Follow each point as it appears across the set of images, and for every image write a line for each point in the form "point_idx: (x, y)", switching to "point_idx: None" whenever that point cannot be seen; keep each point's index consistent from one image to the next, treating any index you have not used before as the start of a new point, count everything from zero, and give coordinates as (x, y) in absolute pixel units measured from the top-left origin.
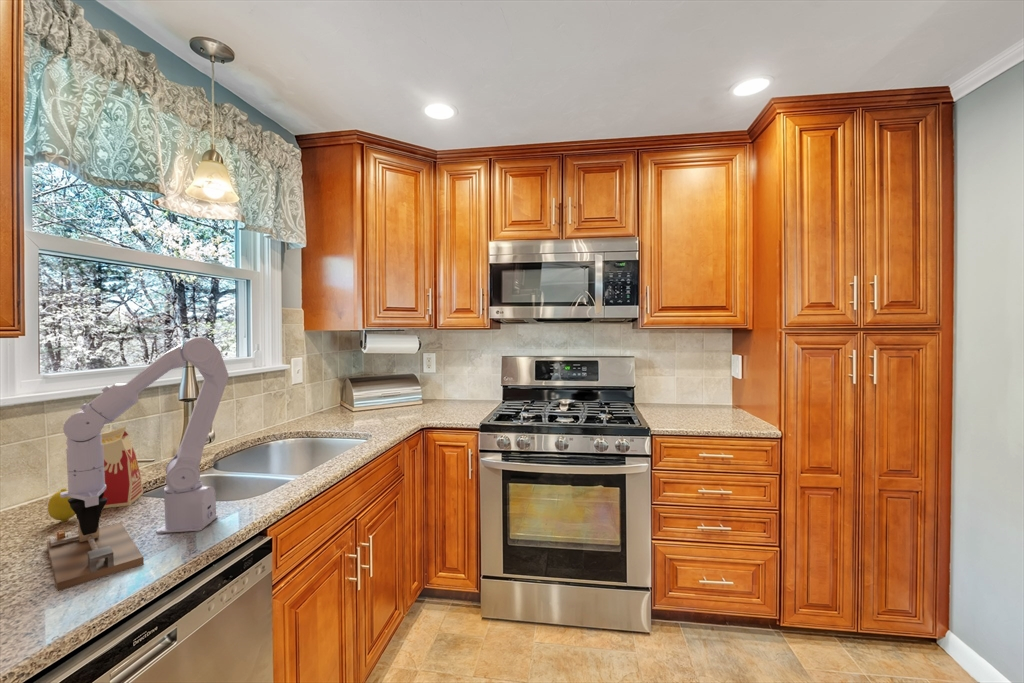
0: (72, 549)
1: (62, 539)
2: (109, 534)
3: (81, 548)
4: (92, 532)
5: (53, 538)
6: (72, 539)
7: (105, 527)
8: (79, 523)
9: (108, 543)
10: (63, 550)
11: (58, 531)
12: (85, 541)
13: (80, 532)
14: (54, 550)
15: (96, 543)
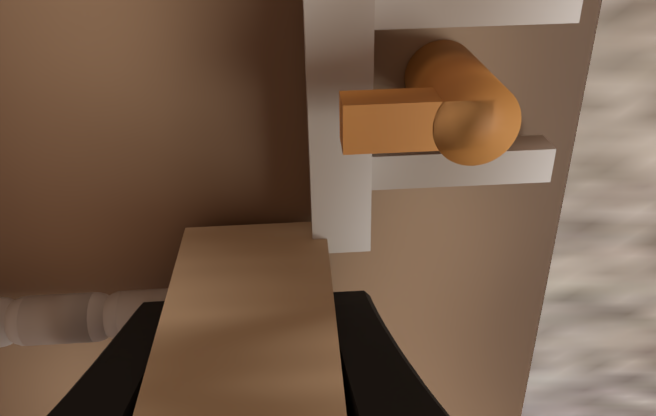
0: (42, 158)
1: None
2: None
3: (14, 223)
4: None
5: (486, 18)
6: (313, 179)
7: (490, 386)
8: (66, 414)
9: (2, 388)
10: (83, 84)
11: (483, 101)
12: None
13: (166, 304)
14: (157, 4)
15: None
